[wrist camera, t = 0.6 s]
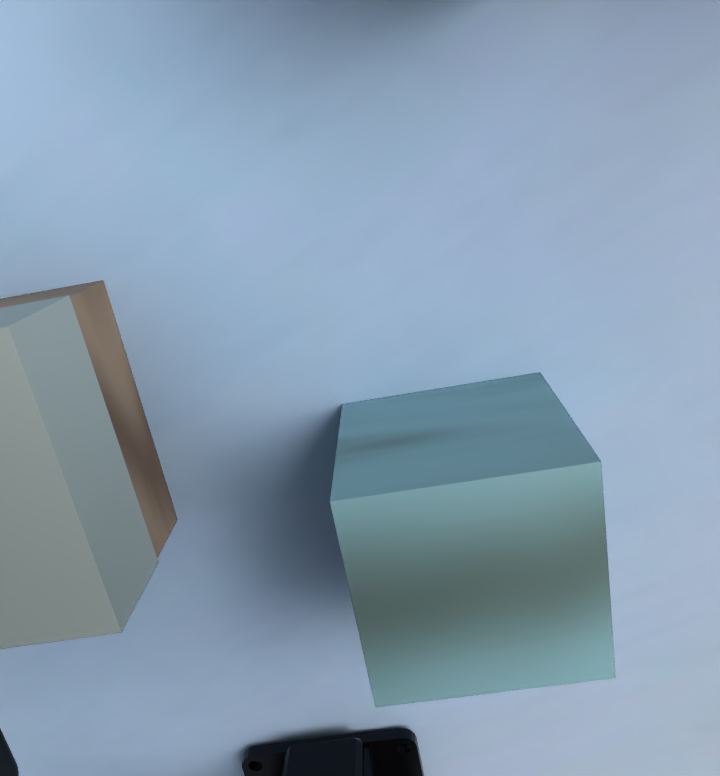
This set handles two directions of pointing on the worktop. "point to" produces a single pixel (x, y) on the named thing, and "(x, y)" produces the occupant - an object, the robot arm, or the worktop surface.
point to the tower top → (62, 488)
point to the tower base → (119, 401)
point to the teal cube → (473, 541)
